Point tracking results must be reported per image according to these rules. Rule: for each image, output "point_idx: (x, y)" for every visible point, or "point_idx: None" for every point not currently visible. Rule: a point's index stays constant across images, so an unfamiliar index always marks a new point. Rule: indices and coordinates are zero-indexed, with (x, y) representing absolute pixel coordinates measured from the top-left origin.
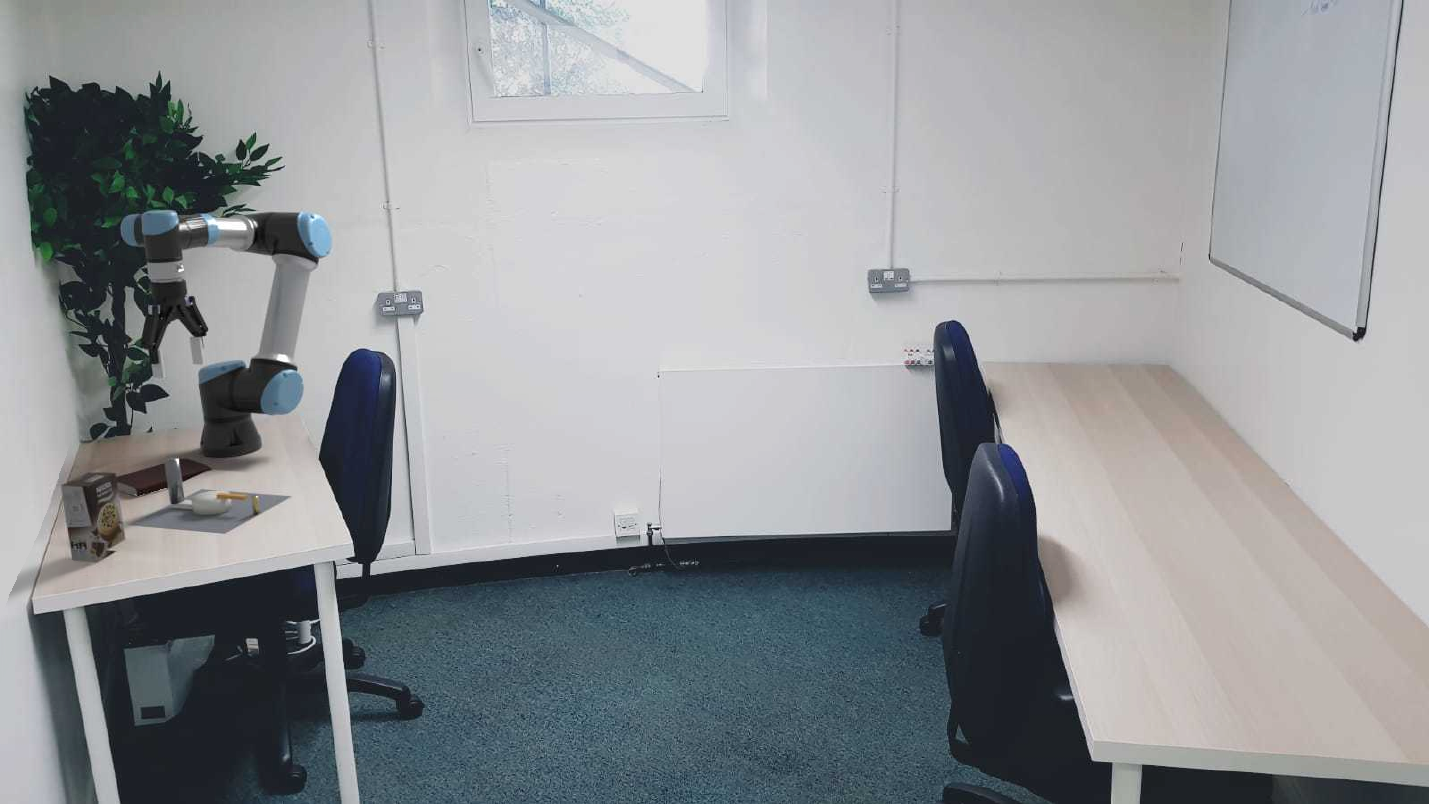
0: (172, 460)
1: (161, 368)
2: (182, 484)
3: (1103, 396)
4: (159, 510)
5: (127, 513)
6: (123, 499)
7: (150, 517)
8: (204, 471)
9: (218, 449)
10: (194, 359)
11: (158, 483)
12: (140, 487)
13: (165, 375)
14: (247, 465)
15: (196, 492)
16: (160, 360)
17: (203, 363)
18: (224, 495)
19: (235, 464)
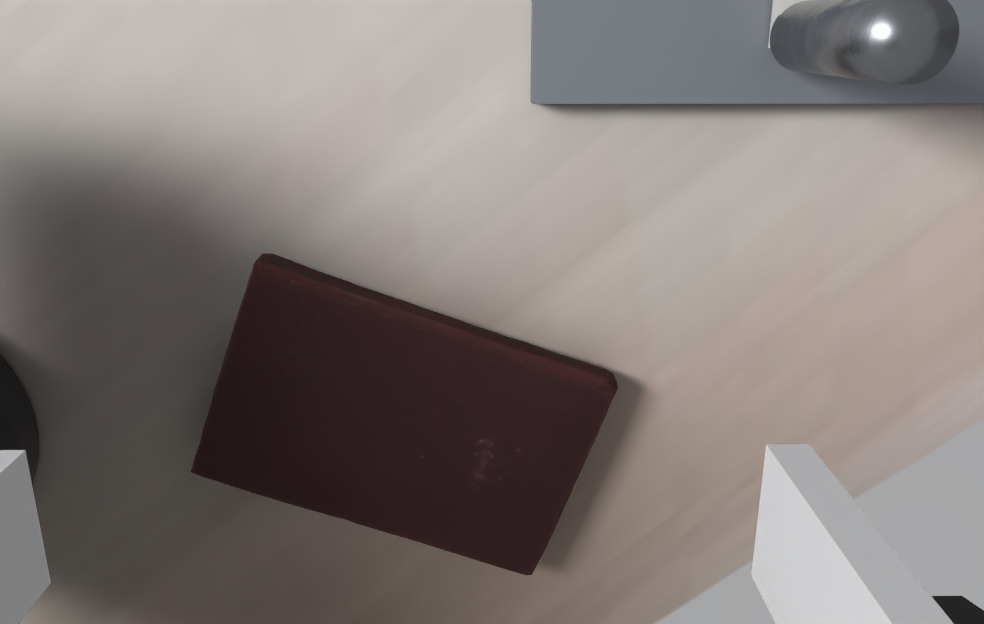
0: (942, 10)
1: (863, 521)
2: (822, 4)
3: None
4: (848, 94)
5: (804, 272)
6: (643, 410)
7: (943, 68)
8: (296, 270)
9: (7, 411)
10: (11, 598)
11: (521, 350)
12: (599, 381)
13: (776, 454)
14: (75, 183)
15: (583, 94)
16: (927, 597)
17: (4, 455)
18: None
19: (84, 253)
